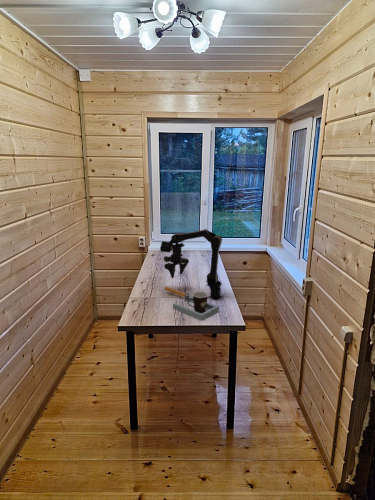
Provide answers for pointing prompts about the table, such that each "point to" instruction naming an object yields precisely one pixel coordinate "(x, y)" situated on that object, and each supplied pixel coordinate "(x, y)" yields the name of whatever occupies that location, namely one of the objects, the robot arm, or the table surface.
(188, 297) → the orange bar
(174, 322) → the table surface
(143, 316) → the table surface
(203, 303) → the coffee mug
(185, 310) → the frame
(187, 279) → the table surface
